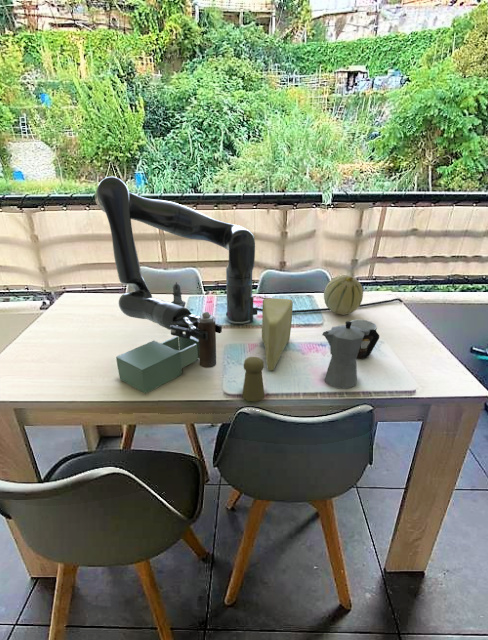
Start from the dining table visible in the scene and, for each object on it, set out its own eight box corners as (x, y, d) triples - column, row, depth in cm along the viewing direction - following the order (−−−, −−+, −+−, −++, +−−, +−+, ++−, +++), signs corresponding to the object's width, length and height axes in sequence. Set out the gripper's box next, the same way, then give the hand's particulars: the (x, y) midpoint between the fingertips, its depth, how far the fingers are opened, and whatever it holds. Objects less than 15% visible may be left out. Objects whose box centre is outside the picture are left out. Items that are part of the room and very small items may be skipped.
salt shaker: (187, 309, 165) (185, 279, 158) (184, 315, 160) (182, 284, 153) (173, 308, 165) (170, 279, 159) (169, 314, 160) (166, 284, 154)
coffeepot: (320, 389, 114) (327, 329, 105) (314, 372, 122) (320, 315, 113) (376, 388, 114) (388, 328, 105) (366, 371, 123) (376, 314, 113)
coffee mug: (372, 350, 134) (378, 321, 129) (370, 362, 127) (376, 332, 122) (336, 345, 137) (340, 317, 132) (332, 356, 130) (336, 327, 125)
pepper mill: (215, 359, 121) (214, 308, 113) (217, 367, 117) (216, 314, 109) (198, 360, 121) (196, 309, 112) (200, 368, 117) (197, 315, 108)
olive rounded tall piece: (241, 389, 114) (241, 353, 108) (263, 388, 114) (264, 353, 109) (243, 402, 109) (243, 365, 103) (265, 400, 109) (267, 364, 104)
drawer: (192, 343, 136) (191, 327, 133) (215, 353, 131) (214, 336, 128) (151, 363, 125) (149, 346, 122) (174, 374, 119) (173, 356, 116)
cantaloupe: (331, 303, 171) (336, 267, 163) (366, 311, 163) (372, 273, 156) (315, 314, 160) (318, 276, 153) (350, 323, 153) (356, 283, 145)
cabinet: (156, 362, 127) (153, 340, 123) (182, 374, 121) (180, 351, 117) (119, 379, 118) (115, 356, 115) (145, 393, 112) (142, 369, 108)
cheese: (287, 372, 122) (290, 325, 114) (254, 370, 123) (254, 323, 115) (290, 340, 141) (293, 297, 133) (261, 338, 142) (262, 296, 134)
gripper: (150, 311, 115) (194, 328, 105) (188, 297, 124) (231, 312, 115) (153, 336, 118) (195, 354, 109) (190, 321, 128) (231, 336, 119)
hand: (213, 332), depth 112 cm, fingers closed on pepper mill, 5 cm apart
